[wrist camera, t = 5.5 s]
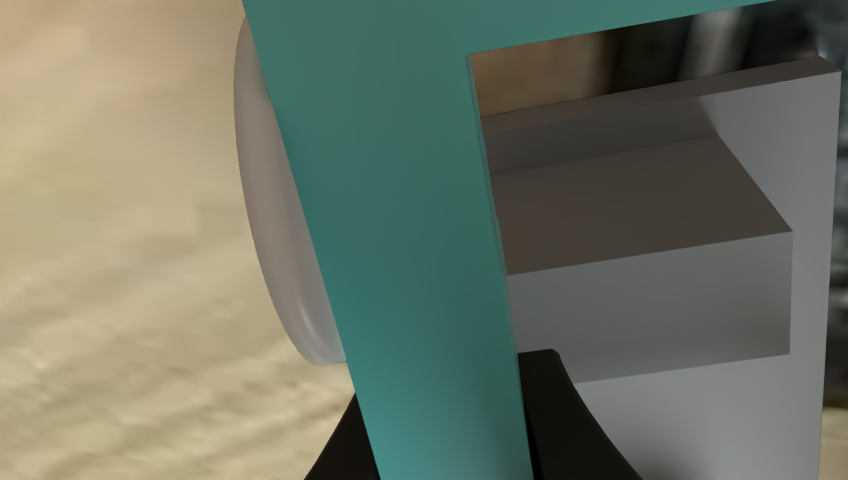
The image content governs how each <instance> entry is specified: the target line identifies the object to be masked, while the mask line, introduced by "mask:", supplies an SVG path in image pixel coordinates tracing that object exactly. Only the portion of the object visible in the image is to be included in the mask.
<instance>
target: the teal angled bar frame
mask: <svg viewBox="0 0 848 480" xmlns="http://www.w3.org/2000/svg"><path fill="white" fill-rule="evenodd" d="M768 1H774V0H242V2H243V5H244V9H245V12H246V17H245V18H244V21H243V24H242V26H241V29H240V33H239V38H238V42H237V48H236V57H235V68H234V115H235V129H236V142H237V150H238V159H239V167H240V174H241V180H242V186H243V192H244V198H245V204H246V208H247V213H248V218H249V223H250V228H251V232H252V236H253V240H254V244H255V248H256V252H257V256H258V259H259V262H260V266H261V269H262V272H263V276H264V279H265V282H266V285H267V288H268V290H269V293H270V296H271V299H272V301H273V304H274V307H275V309H276V311H277V313H278V316H279V318H280V320H281V323H282V325H283V327H284V328H285V330H286V332H287V334H288V336H289V338H290V340H291V341H292V343H293V344H294V346H295V347H296V349H297V350H298V351H299V353H300V354H301V355H302V356H303V357H304V358H305V359H306V360H307V361H309V362H310V363H312V364H314V365H319V366H322V365H330V364H337V363H344V362H347V364H348V368H349V371H350V375H351V378H352V382H353V385H354V388H355V392H356V395H357V399H358V402H359V406H360V409H361V413H362V416H363V420H364V423H365V426H366V430H367V433H368V437H369V440H370V444H371V447H372V451H373V454H374V458H375V461H376V464H377V468H378V471H379V475H380V478H381V480H536V475H535V469H534V463H533V457H532V450H531V444H530V438H529V432H528V426H527V420H526V413H525V407H524V401H523V395H522V388H521V380H520V371H519V362H518V351H517V345H516V339H515V333H514V326H513V319H512V312H511V304H510V296H509V288H508V280H507V273H506V267H505V261H504V254H503V248H502V242H501V235H500V229H499V223H498V218H496V213H495V207H494V201H493V194H492V188H491V182H490V176H489V169H488V163H487V157H486V150H485V144H484V138H483V132H482V125H481V119H480V113H479V106H478V100H477V94H476V88H475V81H474V75H473V69H472V63H471V56H470V54H472V53H478V52H483V51H489V50H495V49H500V48H506V47H512V46H518V45H523V44H529V43H535V42H540V41H546V40H552V39H557V38H563V37H569V36H574V35H580V34H586V33H592V32H597V31H603V30H609V29H614V28H620V27H626V26H631V25H637V24H643V23H649V22H654V21H660V20H666V19H671V18H677V17H683V16H688V15H694V14H700V13H705V12H711V11H717V10H723V9H728V8H734V7H740V6H745V5H751V4H757V3H762V2H768Z"/></svg>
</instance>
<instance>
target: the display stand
mask: <svg viewBox="0 0 848 480" xmlns="http://www.w3.org/2000/svg"><path fill="white" fill-rule="evenodd" d="M840 85H841V71H840V70H839V69H838V68H836V67H835V66H833V65H832V64H831V63H829V62H828V61H827V60H825V59H824V58H822V57H821V56H818V57H812V58H807V59H801V60H796V61H790V62H785V63H779V64H773V65H768V66H762V67H757V68H751V69H746V70H740V71H735V72H729V73H724V74H718V75H713V76H707V77H702V78H696V79H691V80H685V81H679V82H674V83H668V84H663V85H657V86H652V87H646V88H641V89H635V90H630V91H624V92H619V93H613V94H608V95H602V96H597V97H591V98H586V99H580V100H574V101H569V102H563V103H558V104H552V105H547V106H541V107H536V108H530V109H525V110H519V111H514V112H508V113H503V114H497V115H492V116H486V117H480V119H481V125H482V132H483V138H484V144H485V150H486V157H487V163H488V169H489V176H490V182H491V188H492V194H493V201H494V207H495V213H496V218H498V223H499V229H500V235H501V242H502V248H503V254H504V261H505V267H506V273H507V280H508V288H509V296H510V304H511V312H512V319H513V326H514V333H515V339H516V345H517V351H518V353H521V352H529V351H536V350H544V349H554V350H555V351H557V352H558V353H559V354H560V358H561V360H562V363H563V365H564V367H565V370H566V372H567V374H568V376H569V378H570V379H571V381H572V383H573V385H574V387H575V388H576V390H577V392H578V393H579V395H580V397H581V398H582V400H583V402H584V403H585V405H586V406H587V408H588V409H589V411H590V412H591V414H592V415H593V417H594V418H595V419H596V421H597V422H598V424H599V425H600V426H601V428H602V429H603V431H604V432H605V434H606V435H607V436H608V438H609V439H610V440H611V442H612V443H613V444H614V445H615V447H616V448H617V449H618V451H619V452H620V453H621V454H622V455H623V457H624V458H625V459H626V460H627V462H628V463H629V464H630V465H631V466H632V468H633V469H634V470H635V471H636V472H637V473H638V475H639V476H640V477H641V478H642V479H643V480H818V475H819V458H820V440H821V422H822V404H823V387H824V369H825V351H826V333H827V316H828V298H829V280H830V262H831V245H832V227H833V209H834V192H835V174H836V156H837V138H838V121H839V103H840Z"/></svg>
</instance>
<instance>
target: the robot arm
mask: <svg viewBox="0 0 848 480" xmlns="http://www.w3.org/2000/svg"><path fill="white" fill-rule="evenodd" d="M518 362H519V371H520V380H521V388H522V395H523V401H524V407H525V413H526V420H527V426H528V432H529V438H530V444H531V450H532V457H533V463H534V469H535V475H536V480H643V479H642V478H641V477H640V476H639V475H638V473H637V472H636V471H635V470H634V469H633V468H632V466H631V465H630V464H629V463H628V462H627V460H626V459H625V458H624V457H623V455H622V454H621V453H620V452H619V451H618V449H617V448H616V447H615V445H614V444H613V443H612V442H611V440H610V439H609V438H608V436H607V435H606V434H605V432H604V431H603V429H602V428H601V426H600V425H599V424H598V422H597V421H596V419H595V418H594V417H593V415H592V414H591V412H590V411H589V409H588V408H587V406H586V405H585V403H584V402H583V400H582V398H581V397H580V395H579V393H578V392H577V390H576V388H575V387H574V385H573V383H572V381H571V379H570V378H569V376H568V374H567V372H566V370H565V367H564V365H563V363H562V360H561V358H560V354H559V353H558V352H557V351H555V350H554V349H544V350H536V351H529V352H521V353H518ZM304 480H381V478H380V475H379V471H378V468H377V464H376V461H375V458H374V454H373V451H372V447H371V444H370V440H369V437H368V433H367V430H366V426H365V423H364V420H363V416H362V413H361V409H360V406H359V402H358V399H357V395H356V392H355V394H354V396H353V398H352V399H351V401H350V403H349V405H348V407H347V409H346V411H345V413H344V414H343V416H342V418H341V420H340V422H339V423H338V425H337V427H336V429H335V431H334V432H333V434H332V436H331V437H330V439H329V441H328V442H327V444H326V446H325V447H324V449H323V451H322V452H321V454H320V456H319V457H318V459H317V461H316V462H315V464H314V465H313V467H312V469H311V470H310V471H309V473H308V474H307V476H306V477H305V479H304Z"/></svg>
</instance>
